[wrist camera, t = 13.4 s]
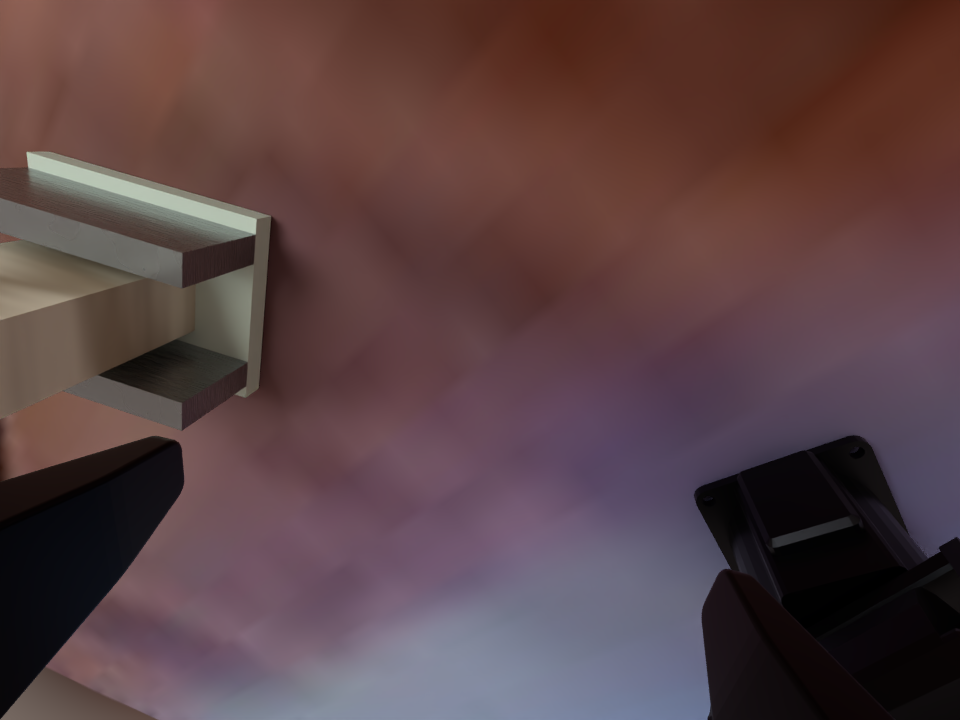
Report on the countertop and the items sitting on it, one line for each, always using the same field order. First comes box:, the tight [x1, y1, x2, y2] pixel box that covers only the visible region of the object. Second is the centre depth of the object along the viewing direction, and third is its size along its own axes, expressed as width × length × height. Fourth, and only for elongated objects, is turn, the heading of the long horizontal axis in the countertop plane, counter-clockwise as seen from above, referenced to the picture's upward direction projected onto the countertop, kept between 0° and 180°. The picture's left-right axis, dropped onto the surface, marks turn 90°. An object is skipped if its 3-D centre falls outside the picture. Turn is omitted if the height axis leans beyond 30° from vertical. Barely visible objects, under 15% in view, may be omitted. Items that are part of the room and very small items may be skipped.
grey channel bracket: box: [0, 152, 271, 431], centre depth 21 cm, size 10×8×5 cm
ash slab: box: [0, 240, 196, 419], centre depth 17 cm, size 5×3×11 cm, turn 76°
